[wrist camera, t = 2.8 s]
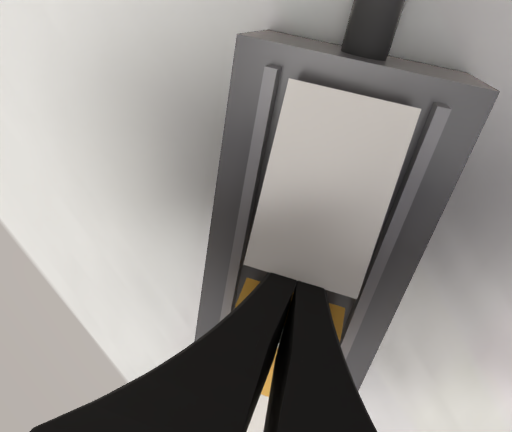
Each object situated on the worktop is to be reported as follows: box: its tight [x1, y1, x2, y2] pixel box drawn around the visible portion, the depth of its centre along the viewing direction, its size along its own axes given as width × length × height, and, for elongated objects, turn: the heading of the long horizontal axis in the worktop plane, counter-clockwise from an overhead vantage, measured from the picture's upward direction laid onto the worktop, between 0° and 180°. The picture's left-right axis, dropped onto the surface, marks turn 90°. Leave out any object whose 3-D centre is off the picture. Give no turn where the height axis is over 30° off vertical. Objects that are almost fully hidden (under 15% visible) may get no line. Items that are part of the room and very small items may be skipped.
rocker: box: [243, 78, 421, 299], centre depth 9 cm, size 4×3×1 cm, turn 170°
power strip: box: [195, 0, 500, 390], centre depth 13 cm, size 21×6×4 cm, turn 170°
